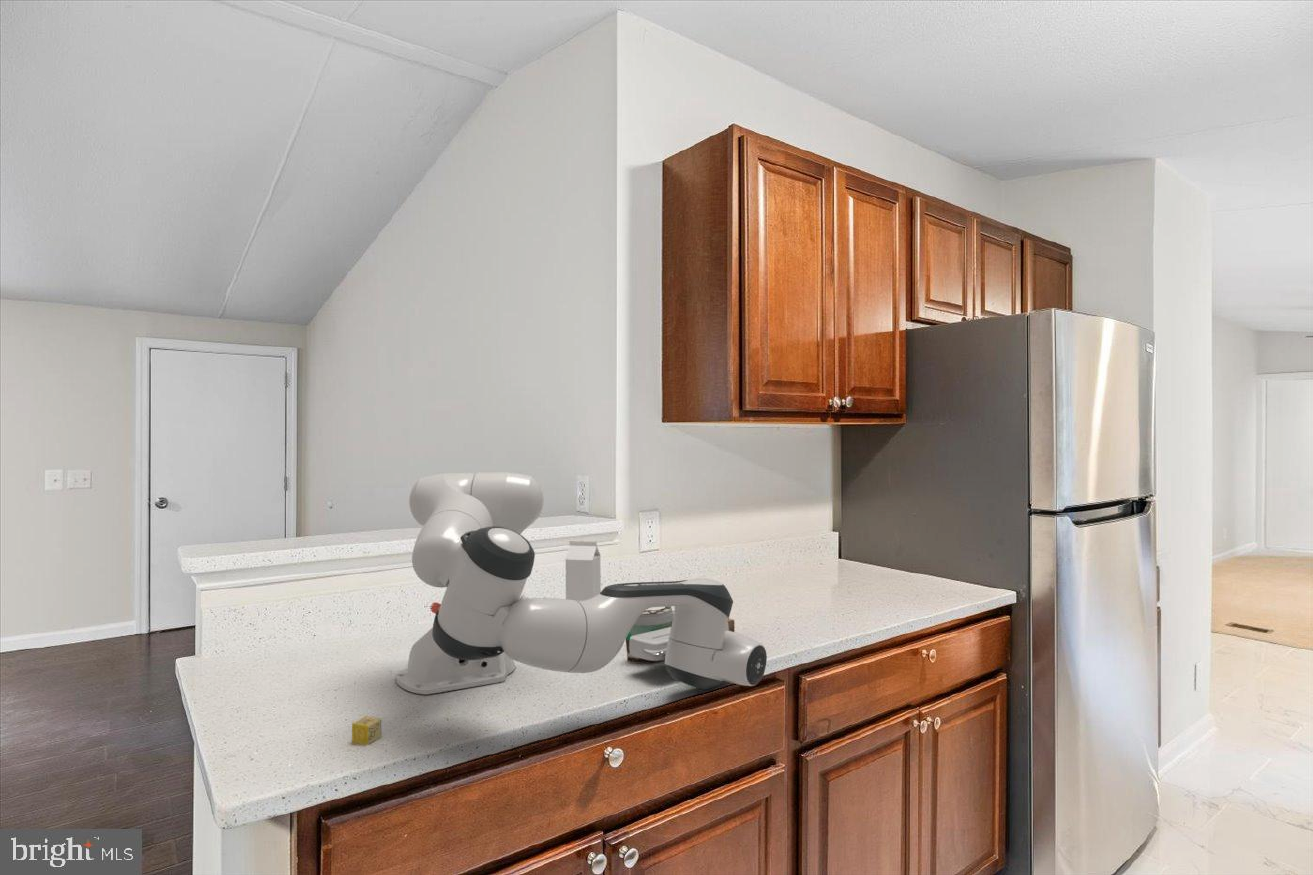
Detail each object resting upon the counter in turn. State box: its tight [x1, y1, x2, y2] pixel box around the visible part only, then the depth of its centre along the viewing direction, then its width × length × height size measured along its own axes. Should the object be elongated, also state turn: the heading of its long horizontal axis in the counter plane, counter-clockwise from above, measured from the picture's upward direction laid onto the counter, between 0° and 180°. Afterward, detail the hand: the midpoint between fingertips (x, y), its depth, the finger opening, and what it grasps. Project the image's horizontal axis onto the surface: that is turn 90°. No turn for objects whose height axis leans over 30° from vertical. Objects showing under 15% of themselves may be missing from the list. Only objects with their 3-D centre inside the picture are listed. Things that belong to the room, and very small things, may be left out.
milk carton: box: [565, 540, 602, 601], centre depth 189 cm, size 7×7×19 cm
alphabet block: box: [351, 715, 382, 746], centre depth 114 cm, size 3×3×3 cm
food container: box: [625, 606, 674, 664], centre depth 153 cm, size 12×6×10 cm, turn 129°
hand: (651, 631), depth 154 cm, fingers closed
